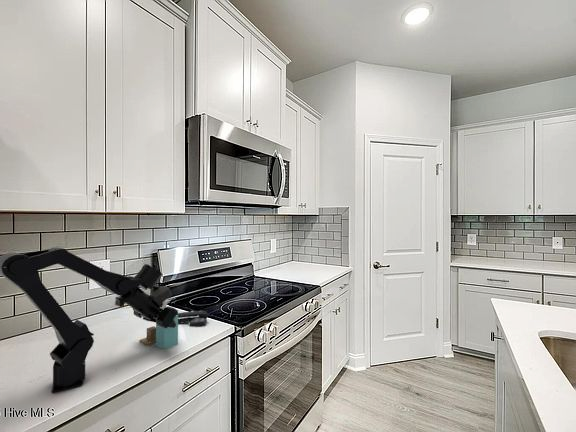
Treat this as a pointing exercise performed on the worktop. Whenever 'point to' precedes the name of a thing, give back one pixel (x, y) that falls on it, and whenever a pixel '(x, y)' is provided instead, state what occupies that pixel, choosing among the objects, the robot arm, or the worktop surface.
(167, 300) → the light grey forked piece
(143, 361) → the worktop surface
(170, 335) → the teal rectangular block
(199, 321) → the can opener
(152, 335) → the brown pedestal
